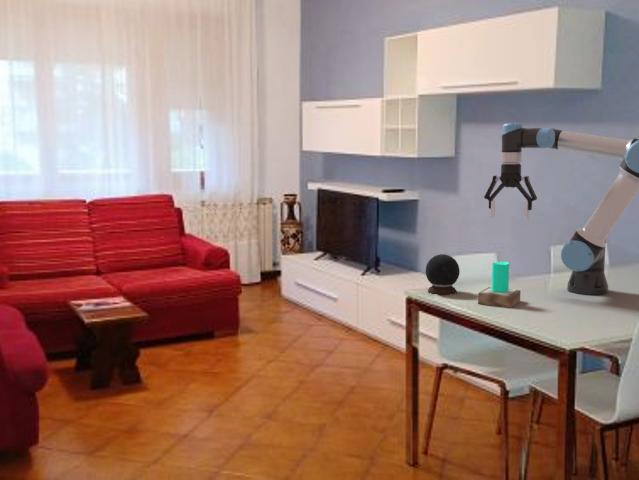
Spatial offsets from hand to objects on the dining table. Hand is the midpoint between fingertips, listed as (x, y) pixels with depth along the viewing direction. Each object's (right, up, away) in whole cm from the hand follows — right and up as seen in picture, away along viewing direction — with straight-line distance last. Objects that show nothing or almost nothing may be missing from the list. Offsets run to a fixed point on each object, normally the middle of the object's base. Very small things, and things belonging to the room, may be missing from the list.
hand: (509, 217), depth 282 cm
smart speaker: (-27, -29, 0) cm, 40 cm away
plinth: (-9, -32, -18) cm, 38 cm away
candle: (-9, -28, -19) cm, 35 cm away
